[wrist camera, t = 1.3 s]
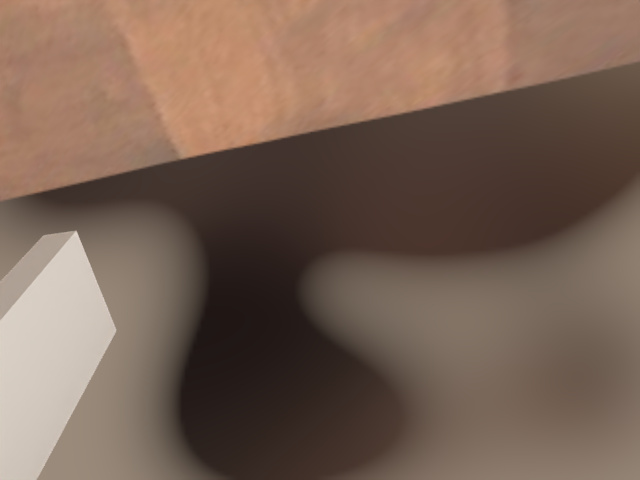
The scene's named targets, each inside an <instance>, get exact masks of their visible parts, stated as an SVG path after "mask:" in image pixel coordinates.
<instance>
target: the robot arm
mask: <svg viewBox="0 0 640 480" xmlns="http://www.w3.org/2000/svg"><path fill="white" fill-rule="evenodd" d="M115 332H116V328H115V326H114V323H113V321H112V318H111V316H110V313H109V311H108V308H107V306H106V303H105V301H104V298H103V296H102V294H101V291H100V288H99V286H98V283H97V281H96V278H95V276H94V273H93V271H92V269H91V266H90V264H89V261H88V259H87V256H86V254H85V251H84V249H83V247H82V244H81V241H80V239H79V236H78V234H77V231H71V232H64V233H57V234H50V235H44V236H42V238H41V239H40V240H39V241H38V242H37V243H36V244H35V245H34V246H33V247H32V248H31V249H30V250H29V251H28V253H27V254H26V255H25V256H24V257H23V258H22V259H21V260H20V261H19V262H18V263H17V264H16V265H15V266H14V268H13V269H12V270H11V271H10V272H9V273H8V274H7V275H6V276H5V277H4V278H3V279H2V280H1V281H0V480H37V478H38V476H39V474H40V472H41V470H42V469H43V467H44V465H45V463H46V461H47V459H48V457H49V455H50V454H51V452H52V450H53V448H54V446H55V444H56V442H57V441H58V439H59V437H60V435H61V433H62V431H63V429H64V427H65V426H66V424H67V422H68V420H69V418H70V416H71V415H72V413H73V411H74V409H75V407H76V405H77V403H78V401H79V400H80V398H81V396H82V394H83V392H84V390H85V388H86V386H87V384H88V383H89V381H90V379H91V377H92V375H93V373H94V372H95V370H96V368H97V366H98V364H99V362H100V360H101V359H102V357H103V355H104V353H105V351H106V349H107V347H108V346H109V344H110V342H111V340H112V338H113V336H114V334H115Z"/></svg>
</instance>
